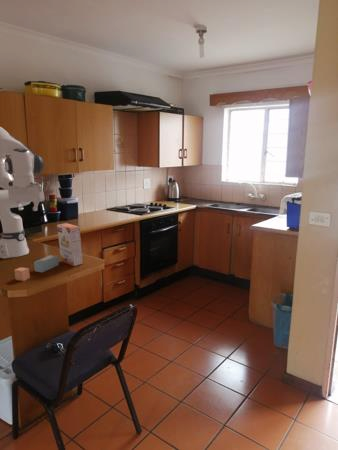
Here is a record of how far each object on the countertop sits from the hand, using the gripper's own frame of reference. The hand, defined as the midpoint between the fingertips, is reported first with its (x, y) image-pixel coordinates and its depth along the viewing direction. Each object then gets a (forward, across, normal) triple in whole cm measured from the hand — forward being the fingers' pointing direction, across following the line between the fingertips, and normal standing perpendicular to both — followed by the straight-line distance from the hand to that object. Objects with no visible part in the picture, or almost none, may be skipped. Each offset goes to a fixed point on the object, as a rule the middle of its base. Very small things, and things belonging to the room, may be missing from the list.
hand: (28, 210), depth 173 cm
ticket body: (+31, -4, -4) cm, 32 cm away
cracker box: (+31, -11, -15) cm, 36 cm away
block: (+31, -4, +12) cm, 34 cm away
